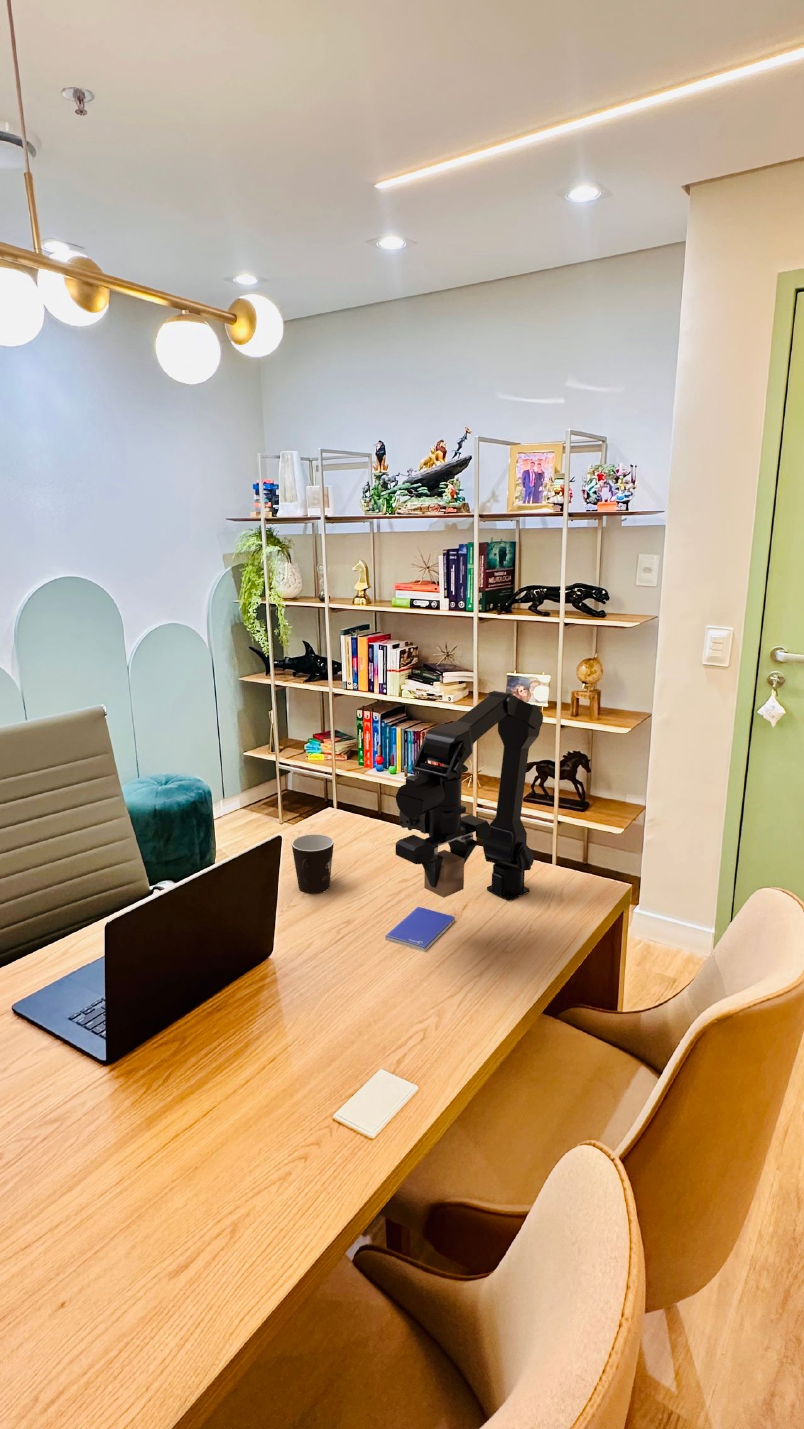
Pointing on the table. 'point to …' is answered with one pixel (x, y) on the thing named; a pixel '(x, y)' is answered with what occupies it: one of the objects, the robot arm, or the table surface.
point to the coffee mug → (313, 862)
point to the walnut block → (448, 875)
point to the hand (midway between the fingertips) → (443, 882)
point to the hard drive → (420, 929)
